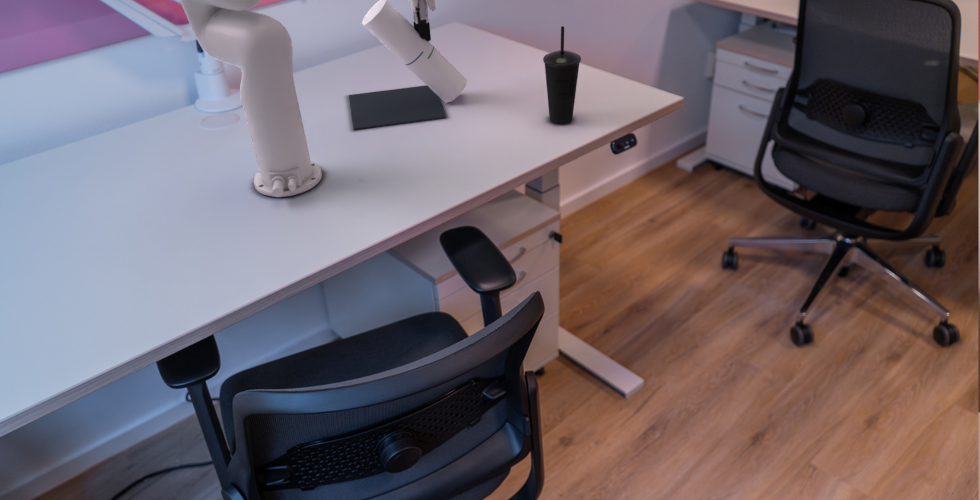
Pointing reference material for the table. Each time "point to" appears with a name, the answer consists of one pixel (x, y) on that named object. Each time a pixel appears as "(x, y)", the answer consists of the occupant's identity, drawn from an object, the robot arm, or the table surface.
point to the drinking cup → (561, 83)
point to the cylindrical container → (414, 50)
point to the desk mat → (395, 107)
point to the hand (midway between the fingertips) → (423, 40)
